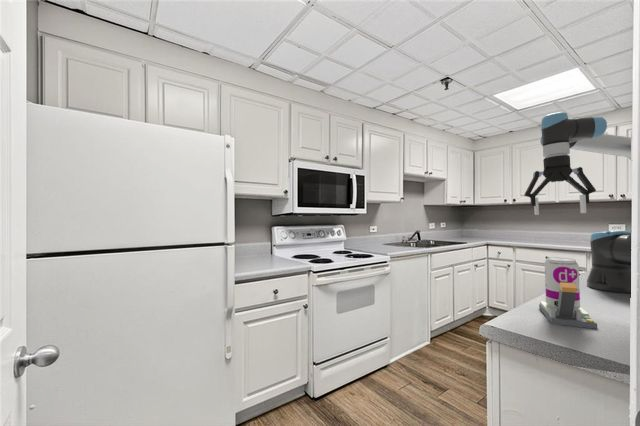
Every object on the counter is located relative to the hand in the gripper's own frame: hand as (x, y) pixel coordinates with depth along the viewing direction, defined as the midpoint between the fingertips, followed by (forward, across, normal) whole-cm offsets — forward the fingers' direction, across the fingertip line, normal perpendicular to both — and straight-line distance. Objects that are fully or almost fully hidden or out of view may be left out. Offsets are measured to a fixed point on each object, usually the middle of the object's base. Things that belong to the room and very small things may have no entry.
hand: (559, 214), depth 104 cm
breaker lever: (+28, +8, +27) cm, 40 cm away
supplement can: (+29, +6, +19) cm, 35 cm away
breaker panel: (+31, +6, +22) cm, 38 cm away
